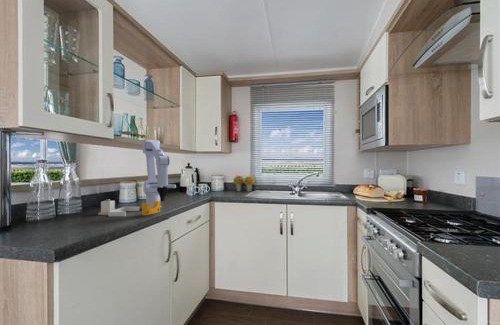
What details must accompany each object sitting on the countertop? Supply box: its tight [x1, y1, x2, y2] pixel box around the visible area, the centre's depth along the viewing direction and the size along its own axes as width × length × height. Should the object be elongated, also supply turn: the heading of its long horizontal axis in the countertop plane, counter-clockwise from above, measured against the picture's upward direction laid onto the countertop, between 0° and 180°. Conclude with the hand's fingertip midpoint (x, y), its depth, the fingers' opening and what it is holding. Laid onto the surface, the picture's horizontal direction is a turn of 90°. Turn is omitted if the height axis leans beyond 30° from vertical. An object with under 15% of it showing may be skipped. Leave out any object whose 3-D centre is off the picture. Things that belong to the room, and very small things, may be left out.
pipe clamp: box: [141, 200, 161, 216], centre depth 141 cm, size 12×4×6 cm, turn 163°
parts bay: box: [108, 205, 141, 218], centre depth 141 cm, size 18×9×2 cm, turn 0°
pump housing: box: [97, 198, 116, 216], centre depth 141 cm, size 7×7×8 cm
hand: (162, 200), depth 141 cm, fingers closed
